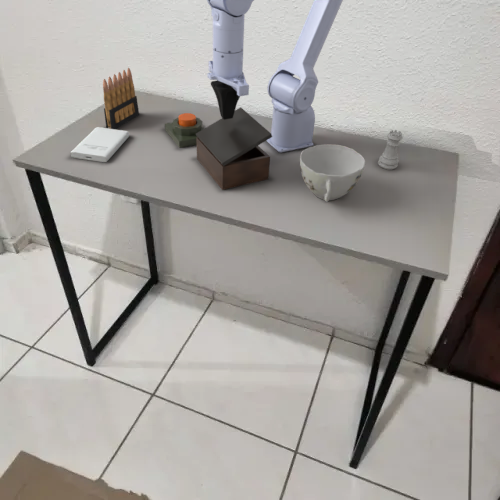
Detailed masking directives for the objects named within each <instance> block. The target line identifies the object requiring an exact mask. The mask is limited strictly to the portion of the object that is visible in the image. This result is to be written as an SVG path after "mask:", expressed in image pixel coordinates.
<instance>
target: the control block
mask: <svg viewBox="0 0 500 500" xmlns="http://www.w3.org/2000/svg"><path fill="white" fill-rule="evenodd" d="M205 128H206V127H205V126H204V122H203V120H202V119H201V118H200V117H197V116H196V125H194V126H190V127H186V126H181V125H179V116H178V117H176V118H174V119H173V120H172V122H165V123H164V131H165V132H166V133H167V134H168V135H169V137H170V138H171V139H172V140H173V142H174V143H175V145H176V146H177V147H178V148H179V149H181V148H187V147H192V146H197V142H196V137H197V136H196V133H198V132H199V131H201V130H203V129H205Z"/></svg>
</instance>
